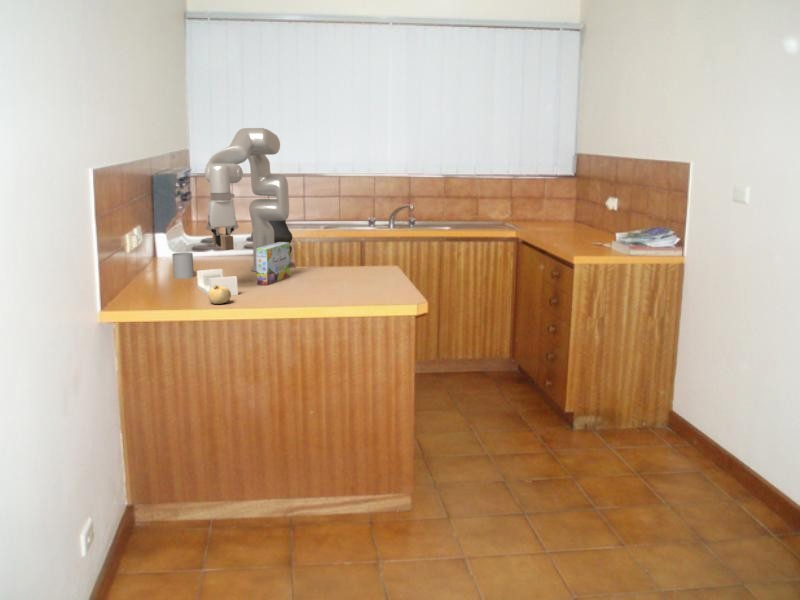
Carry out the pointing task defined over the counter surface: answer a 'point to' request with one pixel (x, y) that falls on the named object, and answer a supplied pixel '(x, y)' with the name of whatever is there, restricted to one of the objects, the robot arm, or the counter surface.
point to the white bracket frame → (215, 280)
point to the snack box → (273, 262)
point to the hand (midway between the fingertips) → (223, 245)
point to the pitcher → (280, 231)
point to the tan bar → (224, 242)
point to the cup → (183, 265)
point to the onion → (219, 294)
